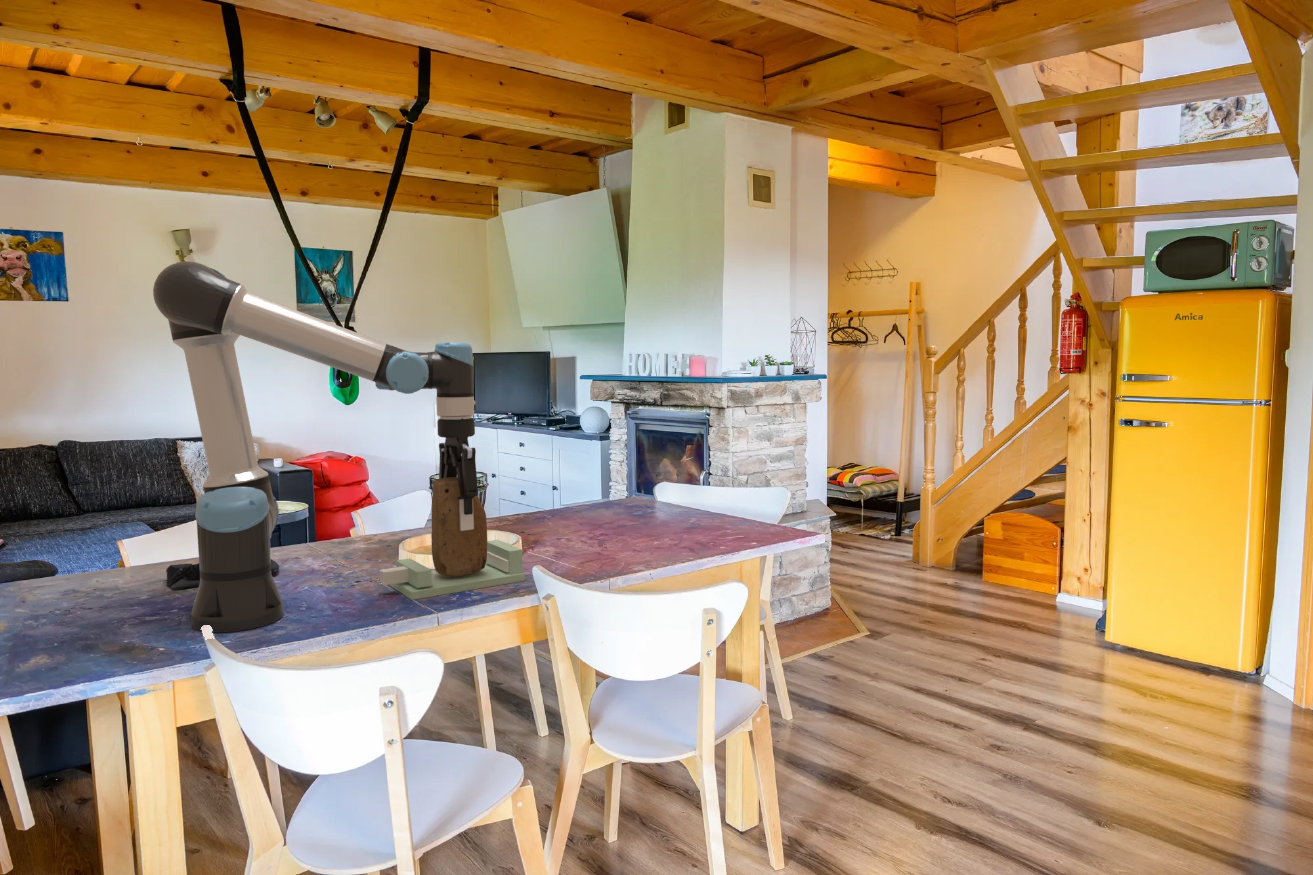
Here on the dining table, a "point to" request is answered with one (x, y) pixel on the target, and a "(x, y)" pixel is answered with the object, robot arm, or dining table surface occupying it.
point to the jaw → (407, 574)
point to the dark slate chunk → (192, 575)
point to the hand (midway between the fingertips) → (458, 526)
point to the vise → (474, 574)
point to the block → (456, 532)
